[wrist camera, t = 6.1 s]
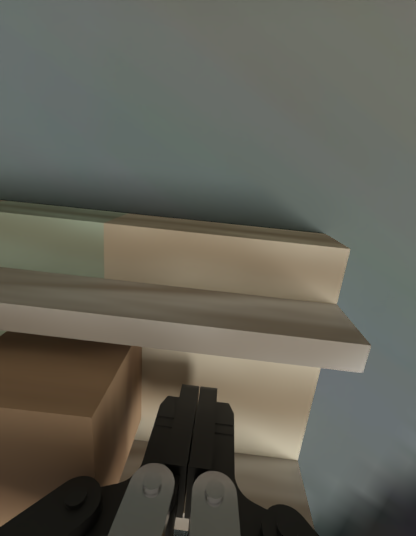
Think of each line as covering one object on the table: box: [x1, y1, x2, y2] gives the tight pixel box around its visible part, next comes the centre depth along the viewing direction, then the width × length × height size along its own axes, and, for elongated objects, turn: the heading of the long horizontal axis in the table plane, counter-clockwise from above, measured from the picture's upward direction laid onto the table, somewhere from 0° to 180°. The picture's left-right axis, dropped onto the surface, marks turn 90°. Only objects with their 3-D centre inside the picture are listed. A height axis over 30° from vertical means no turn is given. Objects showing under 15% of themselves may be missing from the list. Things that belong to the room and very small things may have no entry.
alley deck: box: [0, 200, 371, 531], centre depth 14 cm, size 14×24×6 cm, turn 85°
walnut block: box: [0, 331, 142, 527], centre depth 11 cm, size 5×5×5 cm
